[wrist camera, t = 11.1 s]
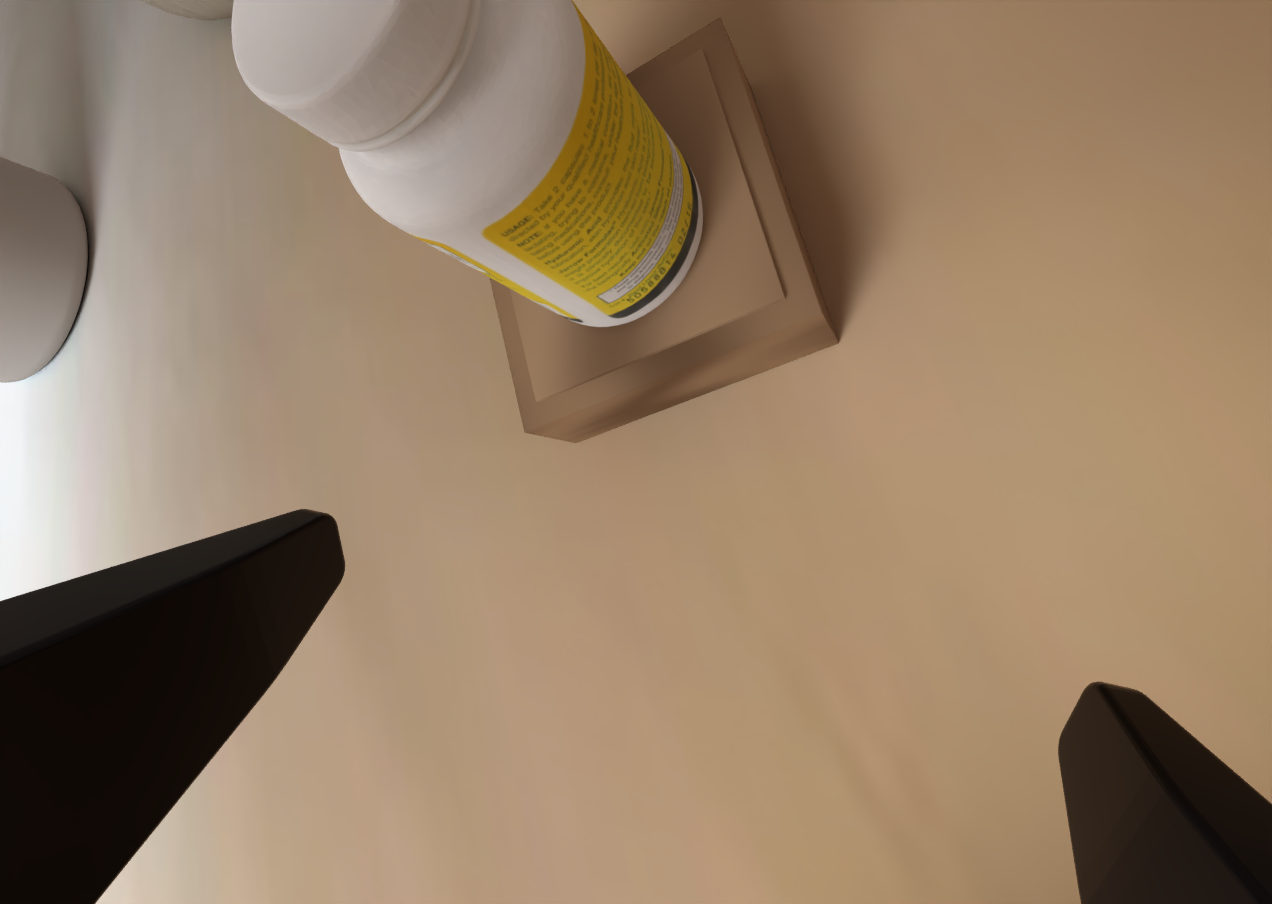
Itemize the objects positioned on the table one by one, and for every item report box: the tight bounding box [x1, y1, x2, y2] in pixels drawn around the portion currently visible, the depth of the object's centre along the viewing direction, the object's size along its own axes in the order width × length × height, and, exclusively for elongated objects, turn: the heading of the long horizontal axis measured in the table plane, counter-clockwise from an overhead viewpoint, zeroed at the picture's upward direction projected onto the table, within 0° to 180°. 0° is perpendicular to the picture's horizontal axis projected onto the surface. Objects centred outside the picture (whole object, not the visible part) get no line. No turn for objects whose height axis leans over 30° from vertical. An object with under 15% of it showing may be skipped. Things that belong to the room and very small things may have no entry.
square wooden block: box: [490, 18, 839, 443], centre depth 20 cm, size 9×9×3 cm
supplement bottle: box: [231, 0, 703, 327], centre depth 14 cm, size 5×5×10 cm
